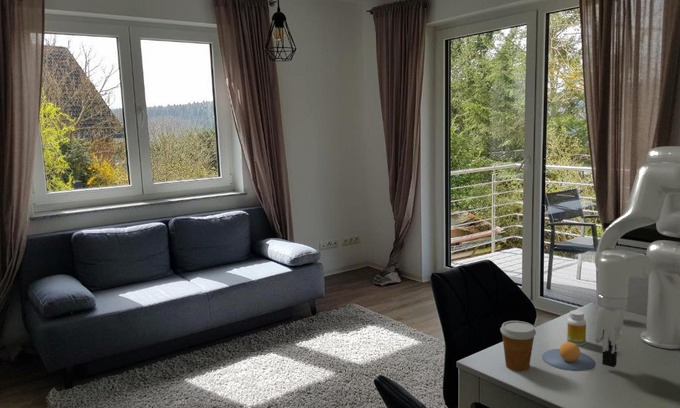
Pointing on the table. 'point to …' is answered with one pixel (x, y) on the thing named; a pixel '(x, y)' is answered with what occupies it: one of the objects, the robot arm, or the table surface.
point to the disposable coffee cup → (517, 344)
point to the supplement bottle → (576, 328)
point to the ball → (569, 351)
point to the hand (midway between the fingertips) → (609, 364)
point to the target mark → (557, 361)
